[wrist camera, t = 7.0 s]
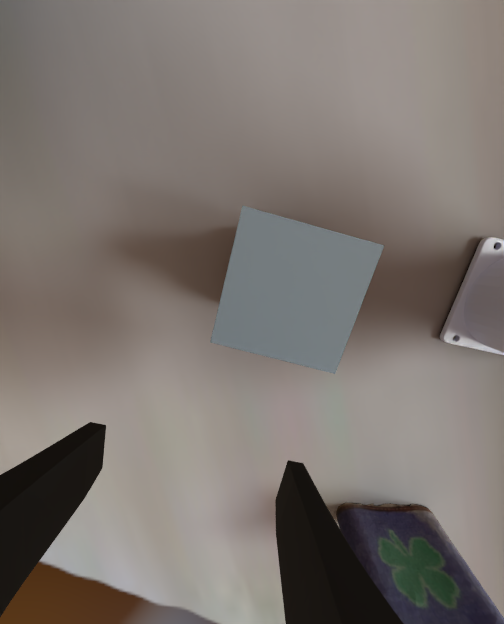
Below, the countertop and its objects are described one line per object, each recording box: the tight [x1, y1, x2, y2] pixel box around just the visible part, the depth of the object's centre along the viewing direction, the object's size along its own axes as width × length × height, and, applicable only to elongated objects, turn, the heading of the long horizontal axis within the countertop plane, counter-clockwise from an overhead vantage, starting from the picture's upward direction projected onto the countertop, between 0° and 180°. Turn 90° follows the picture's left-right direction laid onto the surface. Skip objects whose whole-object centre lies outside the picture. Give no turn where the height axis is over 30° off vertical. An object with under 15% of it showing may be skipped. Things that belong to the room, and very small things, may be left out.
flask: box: [336, 503, 504, 624], centre depth 18 cm, size 9×3×11 cm, turn 89°
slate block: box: [210, 206, 384, 374], centre depth 11 cm, size 5×5×5 cm
